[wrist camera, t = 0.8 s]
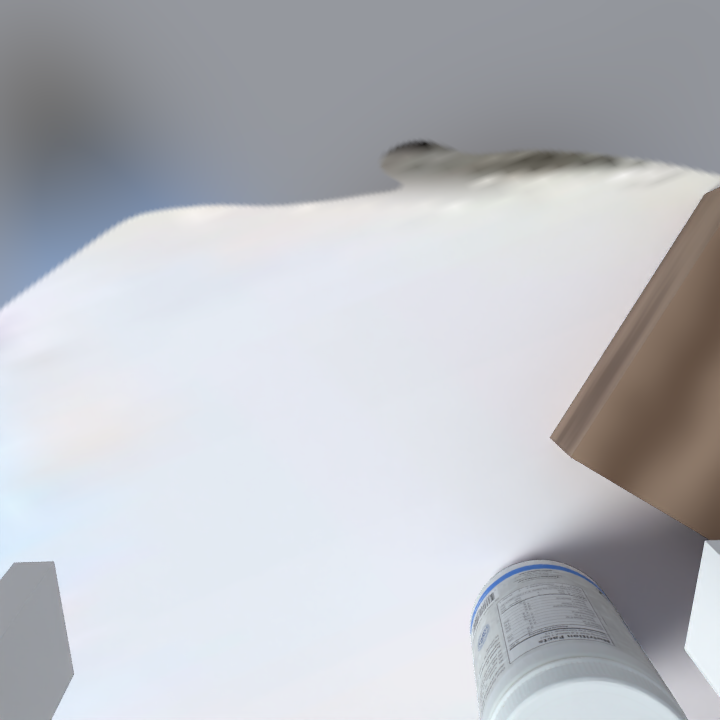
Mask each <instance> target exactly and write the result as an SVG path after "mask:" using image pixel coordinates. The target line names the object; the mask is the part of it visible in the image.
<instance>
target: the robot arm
mask: <svg viewBox="0 0 720 720" xmlns="http://www.w3.org/2000/svg"><path fill="white" fill-rule="evenodd" d="M684 650H685V651H686V652H687V654H688V655H689V656H690V658H691V659H692V661H693V662H694V663H695V665H696V666H697V667H698V669H699V670H700V671H701V673H702V674H703V676H704V677H705V678H706V680H707V681H708V682H709V684H710V685H711V687H712V688H713V689H714V691H715V692H716V693H717V695H718V696H719V697H720V540H706V541H705V543H704V548H703V553H702V559H701V564H700V569H699V574H698V580H697V585H696V590H695V595H694V601H693V606H692V611H691V617H690V622H689V627H688V632H687V638H686V643H685V648H684ZM73 675H74V671H73V665H72V659H71V654H70V648H69V643H68V637H67V631H66V626H65V620H64V615H63V609H62V603H61V598H60V592H59V586H58V581H57V575H56V570H55V564H54V561H52V562H21V563H13V565H12V566H11V567H10V569H9V570H8V571H7V572H6V574H5V575H4V576H3V577H2V579H1V580H0V720H51V719H52V717H53V715H54V713H55V711H56V709H57V707H58V705H59V703H60V701H61V699H62V697H63V695H64V693H65V691H66V689H67V687H68V685H69V683H70V681H71V679H72V677H73Z"/></svg>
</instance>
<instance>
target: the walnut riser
mask: <svg viewBox="0 0 720 720" xmlns="http://www.w3.org/2000/svg"><path fill="white" fill-rule="evenodd" d="M550 438H551V439H552V440H553V441H554V442H555V443H556V444H557V445H558V446H559V447H560V448H561V449H562V450H563V451H565V452H566V453H567V454H568V455H569V456H570V457H571V458H573V459H575V460H576V461H578V462H580V463H581V464H583V465H585V466H586V467H588V468H590V469H591V470H593V471H595V472H596V473H598V474H600V475H601V476H603V477H605V478H606V479H608V480H610V481H612V482H613V483H615V484H617V485H618V486H620V487H622V488H623V489H625V490H627V491H628V492H630V493H632V494H633V495H635V496H637V497H638V498H640V499H642V500H643V501H645V502H647V503H648V504H650V505H652V506H654V507H655V508H657V509H659V510H660V511H662V512H664V513H665V514H667V515H669V516H670V517H672V518H674V519H675V520H677V521H679V522H680V523H682V524H684V525H685V526H687V527H689V528H690V529H692V530H694V531H696V532H697V533H699V534H701V535H702V536H704V537H706V538H707V539H709V540H720V187H719V188H717V189H715V190H713V191H711V192H709V193H706V194H705V195H704V196H703V198H702V199H701V201H700V203H699V204H698V206H697V207H696V209H695V210H694V212H693V214H692V215H691V217H690V218H689V220H688V221H687V223H686V225H685V226H684V228H683V229H682V231H681V232H680V234H679V236H678V237H677V239H676V240H675V242H674V243H673V245H672V247H671V248H670V250H669V251H668V253H667V254H666V256H665V258H664V259H663V261H662V262H661V264H660V265H659V267H658V269H657V270H656V272H655V273H654V275H653V276H652V278H651V280H650V281H649V283H648V284H647V286H646V287H645V289H644V291H643V292H642V294H641V295H640V297H639V298H638V300H637V302H636V303H635V305H634V306H633V308H632V309H631V311H630V313H629V314H628V316H627V317H626V319H625V320H624V322H623V324H622V325H621V327H620V328H619V330H618V331H617V333H616V335H615V336H614V338H613V339H612V341H611V342H610V344H609V346H608V347H607V349H606V350H605V352H604V353H603V355H602V357H601V358H600V360H599V361H598V363H597V364H596V366H595V368H594V369H593V371H592V372H591V374H590V375H589V377H588V379H587V380H586V382H585V383H584V385H583V386H582V388H581V390H580V391H579V393H578V394H577V396H576V397H575V399H574V401H573V402H572V404H571V405H570V407H569V408H568V410H567V412H566V413H565V415H564V416H563V418H562V419H561V421H560V423H559V424H558V426H557V427H556V429H555V430H554V432H553V434H552V435H551V437H550Z"/></svg>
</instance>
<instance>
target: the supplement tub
mask: <svg viewBox="0 0 720 720" xmlns="http://www.w3.org/2000/svg"><path fill="white" fill-rule="evenodd" d="M470 639H471V647H472V655H473V664H474V674H475V682H476V690H477V698H478V707H479V716H480V720H688V719H687V717H686V716H685V714H684V712H683V711H682V709H681V707H680V706H679V704H678V703H677V701H676V700H675V698H674V697H673V695H672V694H671V692H670V690H669V689H668V687H667V686H666V684H665V683H664V681H663V680H662V678H661V677H660V675H659V674H658V672H657V671H656V669H655V668H654V666H653V665H652V664H651V662H650V661H649V659H648V658H647V656H646V655H645V653H644V652H643V650H642V649H641V647H640V646H639V644H638V643H637V641H636V640H635V638H634V637H633V635H632V634H631V632H630V630H629V629H628V627H627V626H626V624H625V623H624V621H623V620H622V618H621V617H620V615H619V614H618V612H617V611H616V609H615V608H614V606H613V605H612V603H611V602H610V600H609V599H608V598H607V596H606V595H605V593H604V592H603V591H602V589H601V588H600V587H599V586H598V585H597V584H596V583H595V582H594V581H593V580H592V579H591V578H590V577H588V576H587V575H586V574H584V573H583V572H581V571H579V570H578V569H576V568H574V567H571V566H569V565H567V564H564V563H560V562H556V561H550V560H530V561H524V562H521V563H517V564H514V565H512V566H510V567H508V568H506V569H504V570H502V571H500V572H499V573H498V574H496V575H495V576H494V577H493V578H491V579H490V580H489V581H488V583H487V584H486V585H485V586H484V587H483V589H482V590H481V592H480V593H479V595H478V597H477V599H476V601H475V604H474V606H473V609H472V613H471V619H470Z"/></svg>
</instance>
